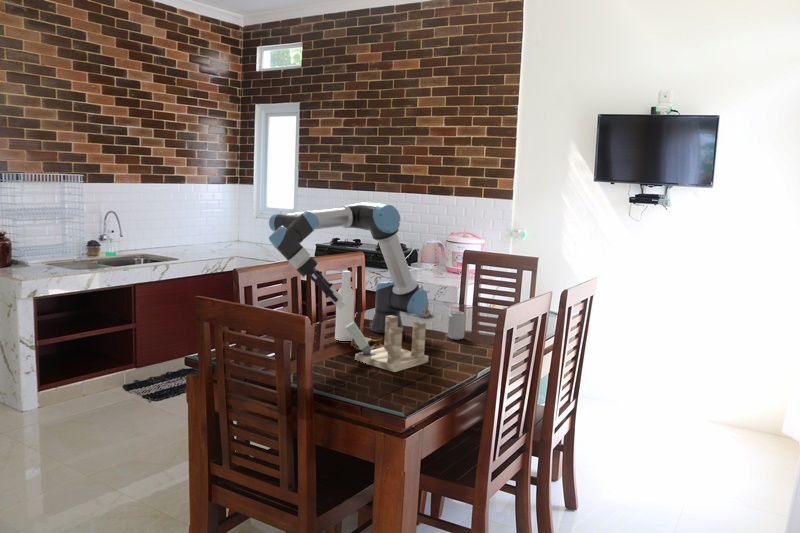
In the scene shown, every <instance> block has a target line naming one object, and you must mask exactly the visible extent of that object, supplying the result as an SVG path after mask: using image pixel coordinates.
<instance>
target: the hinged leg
mask: <svg viewBox="0 0 800 533" xmlns="http://www.w3.org/2000/svg"><path fill="white" fill-rule="evenodd" d="M346 329H347V330H348V332H349V333H350V335H351V336H352V338H353V339H354V341H355V342H356V344H357V345H358V347H359V348H360V350H361V349H363V351H362V352H363V353H364V354H366V355H367V354H369V353H370V352H371V349H370V346H369V345H368V342H367V340H366V339H365V337H366V336H365V335H364V334H363V333H362V331H361V329H360V328H359V326H358V325H357V323H356V321H353V322H351V323H350V324H348V325H347V326H346Z"/></svg>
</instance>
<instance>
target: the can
mask: <svg viewBox="0 0 800 533" xmlns="http://www.w3.org/2000/svg"><path fill="white" fill-rule="evenodd" d="M465 324H466V315H465V312H463V311H459V310H457V311H456V310H453V311H450V312H449V314H448V321H447V334H446V336H447V337H448V339H450V340H453V339H454V340H457V341H459V340H460V339H461V340H463V339H464V338H465V329H466V328H465V327H466V325H465Z"/></svg>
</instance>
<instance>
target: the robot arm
mask: <svg viewBox="0 0 800 533" xmlns="http://www.w3.org/2000/svg"><path fill="white" fill-rule="evenodd" d="M400 222H401V215H400V212H399V211H398V209H397V208H396V207H395V206H394V205H391V204H388V203H384V202H382V203H376V202H365V201H364V202H359V203H352V204H345V205H342V206H340V207H339V208H330V209H321V210H320V209H319V210H311V211H310V210H305V211H301V212H300V211H299V212H292V213H282V212H279V213H274V214H272V215H271V216H270V218H269V220H268V226H269V228H270V230H271V231H272V233H271V234H270V236H269V237H268V240H269V242H270V243H271V244H272V246H273V247H274V248H275V249H276V250H277V251H278V252H279V253H280V254H281V255H282V256H283V257H284V258H285V259H286V260H287V261H288V265H289V266H292V267H293V268H294V269H296V272H298V273H299V275H301V276H302V277H305V276H307V275H308V274H309V277H310V280H311V281H313V282H314V283H315V285H316V286H318V288H319V290H321V291H322V292H323V294H324V295H325V298H326V299H328V298H329V300H330V301H331V302H332V303H333V304H334V305H335V307H336V306H337V307H338V308H339V309H340V310H341V309H342V308H343V307H344V306H345V304H344V302H343V301H342V299H343V297H342V296H341V295H340V294H339V293H338V291H337V289H335V287H334V286H333V282H329V281H328V280H327V279H326V278H325V277H324V275H323V274H322V272H320V271H319V270H317V269H316V267H317V266H318V262H317V260H315V258H314V257H312V256H311V254H310V253H309V252H308V251H307V249H306V248H304V246H303V245H301V243H302V242H303V241H304V240H305V239H306V238H308V237H309V236H310V235H311V233H313V232H314V231H315V230H322V229H331V228H339V227H341V228H344V229H349V228H351V229H360V230H364V231H365V230H366V231H369V232H370V234H371V237H372V239H373V240H375V241H376V242H378V246H379V248H380V251H381V253H382V256H383V258H384V259H383V260H384V261H385V262H384V263H385V264H386V267H387V270H388V272H389V275H390V278H391V280H385V281H378V282H377V283H376V286H375V298H374V299H375V303H374V305H375V307H374V310H375V311H374V315H373V318H372V321H371V324H370V331H372V332H373V333H378V334H379V333H380V334H385V319H386V316H390V315H393V316H397V317H398V327H401V328H402V332H403V331H404V325H403V321H402V317H401V312H405V313H409V314H415V315H416V314H419V313H421V312H422V311H423V310H424V309H425V307H426V304H427V300H428V301H429V299H428V293H427V291H425V289H424V288H423V289H420V286H419V283H418V281H417V280H416V279H414V278H413V276H412V273H411V271H410V268H409V265H408V262H407V260H406V257H405V253H404V251H403V248H402V246H401V245H402V244H401V243H400V240H399V237H398V232H399V228H400V225H401V223H400ZM400 311H401V312H400Z"/></svg>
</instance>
